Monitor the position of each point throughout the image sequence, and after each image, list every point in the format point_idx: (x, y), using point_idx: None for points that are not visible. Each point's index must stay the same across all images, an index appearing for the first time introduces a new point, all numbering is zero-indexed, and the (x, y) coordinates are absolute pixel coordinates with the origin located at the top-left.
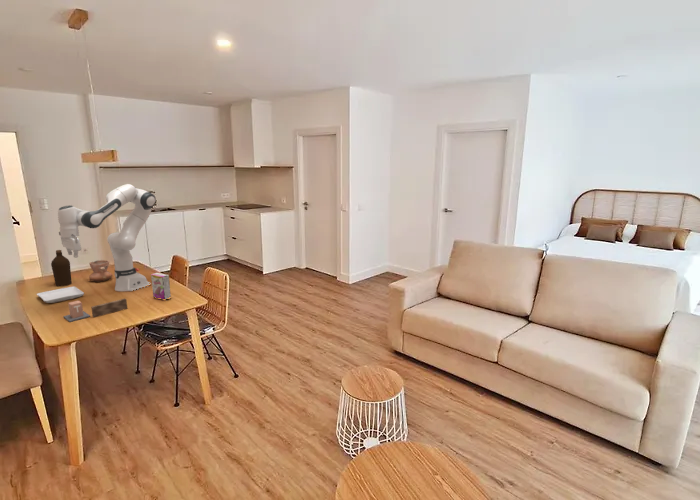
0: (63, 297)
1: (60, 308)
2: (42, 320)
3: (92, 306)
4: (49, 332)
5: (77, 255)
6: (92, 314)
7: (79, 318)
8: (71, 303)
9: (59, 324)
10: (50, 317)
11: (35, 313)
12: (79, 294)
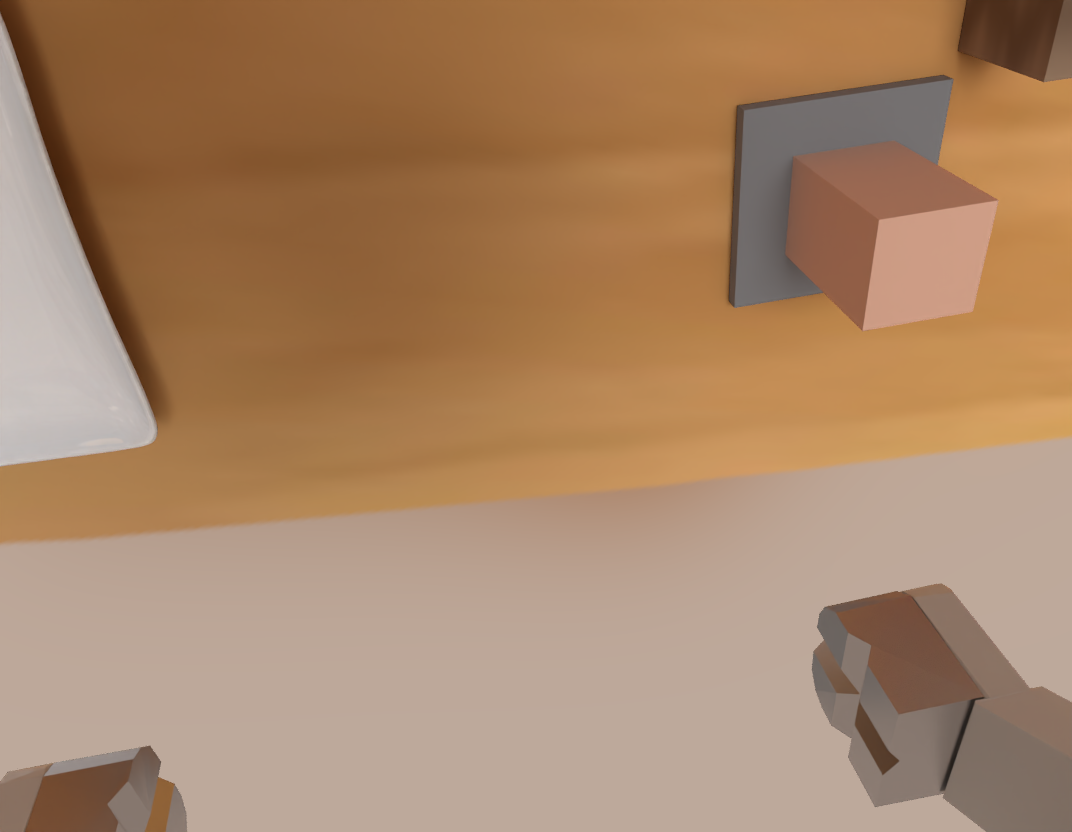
0: (86, 257)
1: (389, 295)
2: (657, 445)
3: (1048, 66)
4: (984, 415)
5: (992, 653)
6: (976, 56)
7: None
8: (921, 304)
9: (881, 345)
10: (626, 391)
11: (401, 486)
12: (6, 31)
